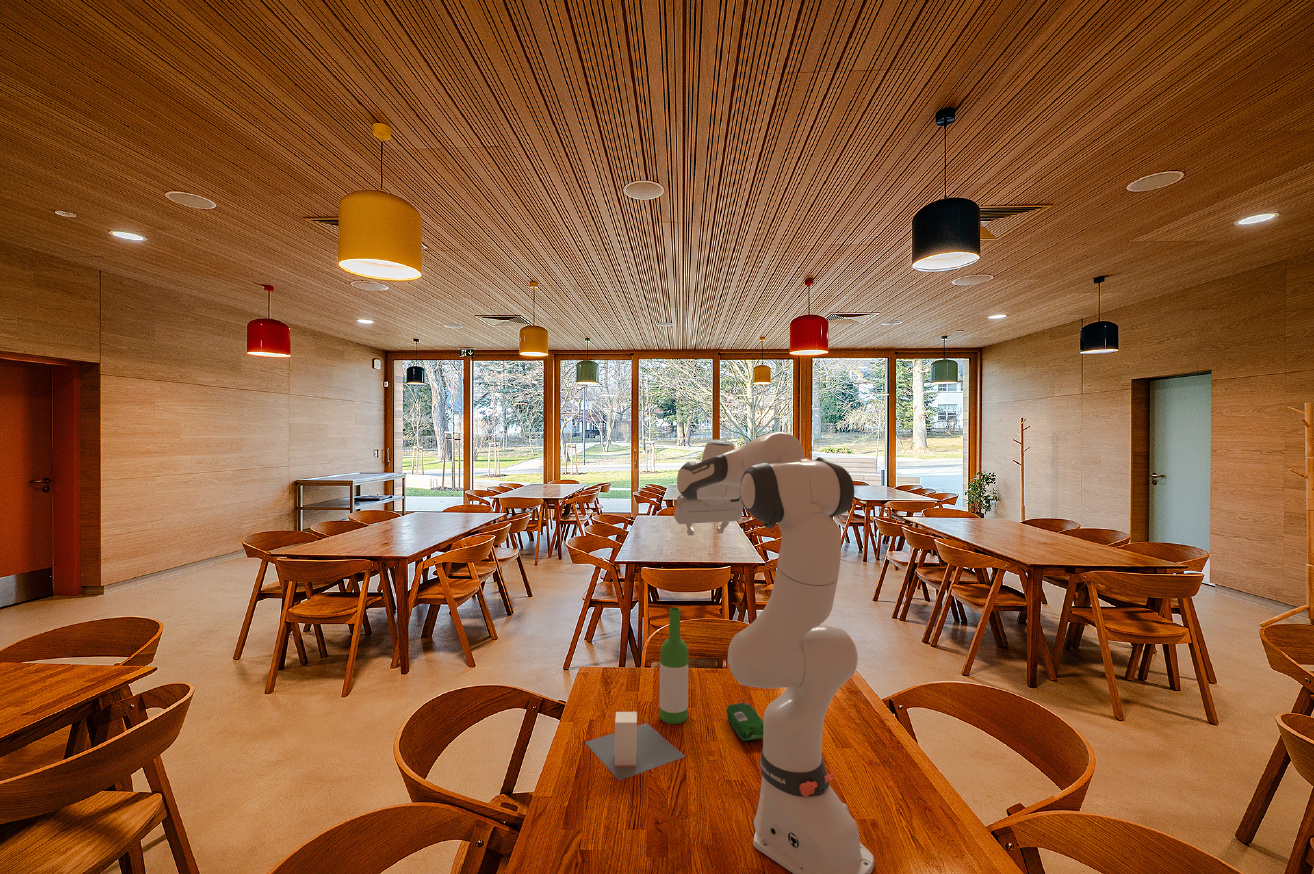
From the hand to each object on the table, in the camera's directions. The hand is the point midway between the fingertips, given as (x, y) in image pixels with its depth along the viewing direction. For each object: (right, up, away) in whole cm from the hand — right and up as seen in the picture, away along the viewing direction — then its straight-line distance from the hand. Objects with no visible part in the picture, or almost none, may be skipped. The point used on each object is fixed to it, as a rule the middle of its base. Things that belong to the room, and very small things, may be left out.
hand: (705, 533), depth 157 cm
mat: (-20, -48, -28) cm, 59 cm away
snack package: (+9, -49, -18) cm, 53 cm away
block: (-22, -47, -32) cm, 61 cm away
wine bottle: (-10, -49, -12) cm, 51 cm away
